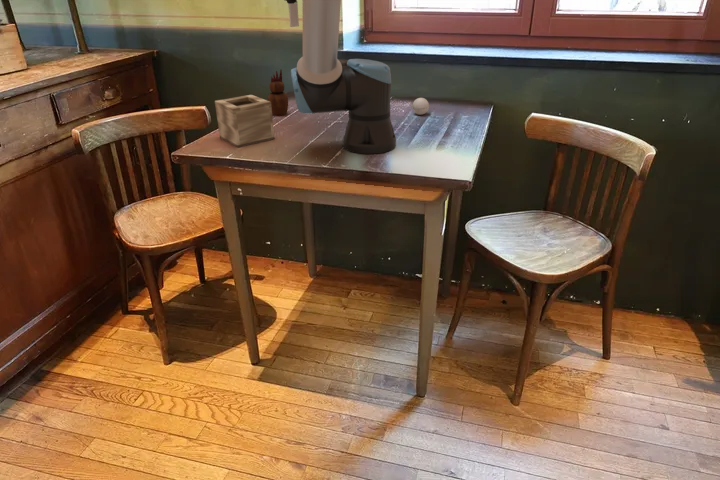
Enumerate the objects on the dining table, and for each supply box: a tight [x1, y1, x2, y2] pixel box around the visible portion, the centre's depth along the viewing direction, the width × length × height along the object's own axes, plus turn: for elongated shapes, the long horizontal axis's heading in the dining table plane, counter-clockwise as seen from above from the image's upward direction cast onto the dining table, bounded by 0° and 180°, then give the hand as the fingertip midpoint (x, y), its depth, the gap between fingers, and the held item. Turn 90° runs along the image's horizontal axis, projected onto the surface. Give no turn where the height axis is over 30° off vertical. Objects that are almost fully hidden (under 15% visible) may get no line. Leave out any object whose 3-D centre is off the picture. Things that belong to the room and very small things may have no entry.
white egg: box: [411, 97, 430, 116], centre depth 173 cm, size 8×6×6 cm
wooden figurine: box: [267, 69, 289, 116], centre depth 174 cm, size 7×6×15 cm
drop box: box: [214, 94, 275, 148], centre depth 152 cm, size 12×12×11 cm
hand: (306, 28), depth 154 cm, fingers open, 13 cm apart
